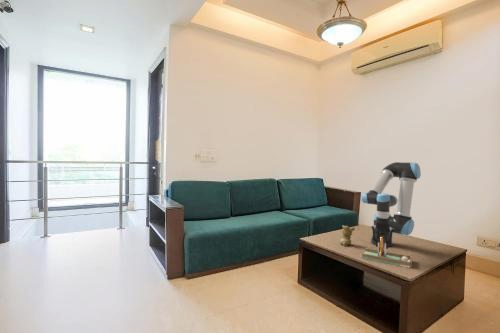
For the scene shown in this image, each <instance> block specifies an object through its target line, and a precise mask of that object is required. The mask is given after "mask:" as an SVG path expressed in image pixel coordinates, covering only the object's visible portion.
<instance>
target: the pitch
mask: <svg viewBox="0 0 500 333" xmlns="http://www.w3.org/2000/svg"><path fill="white" fill-rule="evenodd" d="M364 249H365V251H364V253H363V252H362V253H361V258H362V259H364V260H368V261H373V262H379V263H383V264H388V265H393V266H398V267H399V266H400V267H405V268H409V269H412V265H413V254H412V255H409V254H408V255H407V254H403V253H397V252H391V251H386V252H387V256H386V257H380V256H378V249H375V248H374V249H373V248H368V247H365V248H364ZM384 253H385V250H384ZM403 256H406V257H407V258H408V261H402V257H403Z"/></svg>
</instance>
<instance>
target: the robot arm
mask: <svg viewBox="0 0 500 333" xmlns="http://www.w3.org/2000/svg"><path fill="white" fill-rule="evenodd" d="M421 173H422V172H421V168H420V164H419V163H417V162H412V161H411V162H401V161H400V162H391V163H390V164H388V165H386V166H385V167H384V168H383V169H382V170H381V171H380V175H379V177H378V178H377V180H376V181H375V182H374V184H373V185H372V187H371V188H370V189H369V191H368V192H363V193H362V194H361V202H362V203H363V204H368V205H375V206H376V214H374V215H373V225H372V226H371V229H372V235H371V238H370V243H371V244H372V245H375V248H377V250H378V253H379V239H380V236H384V251H385V253H384V254H386V252H387V249H389V247H393V245H394V244H393V242H394V241H393V233H394V234H398V235H403V236H410V235H412V233H413V231H414V227H415V220H413V219H412V218H413V217H412V216H411V210H412V207H411V206H412V202H413V201H412V200H413V199H412V198H413V193H414V185H415V183H416V182H417V181H418V179H420V178H421ZM394 178H398V180H399V182H400V185H399V192H398V198H397V197H396V196H395V195H393V194H389V193H383V192H384V190H385V188H386V187H387V186H388V184H389V182H390V181H391V180H393V179H394ZM396 205H397V206H396ZM394 206H396V212H395V213H393V216H392V215H391V214H390V208H391V207H394Z"/></svg>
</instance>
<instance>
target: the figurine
mask: <svg viewBox="0 0 500 333" xmlns="http://www.w3.org/2000/svg"><path fill="white" fill-rule="evenodd" d="M341 227H342V230H341V231H342V232H341V233H342V235H341V236H342V237H341V238H340V239H339V244H340V245H342V246H344V247H349V246H351V244H352V240H351V238H352V237H351V236H352V235H353V232H354V231H355V229H356V228H355V227H349V226H348V225H344V224H342V226H341Z"/></svg>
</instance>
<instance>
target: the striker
mask: <svg viewBox="0 0 500 333" xmlns="http://www.w3.org/2000/svg"><path fill="white" fill-rule="evenodd" d="M384 251H385V246H384V236H380V239H379V253H378V256H380V257H386V256H387V252H388V251H386V254H384Z"/></svg>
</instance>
